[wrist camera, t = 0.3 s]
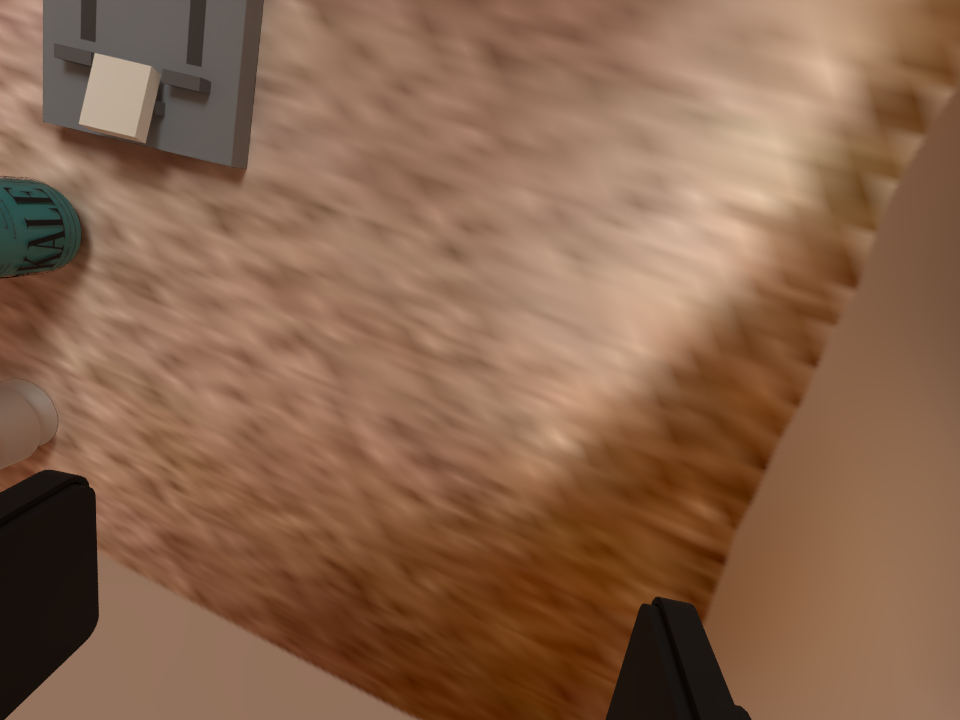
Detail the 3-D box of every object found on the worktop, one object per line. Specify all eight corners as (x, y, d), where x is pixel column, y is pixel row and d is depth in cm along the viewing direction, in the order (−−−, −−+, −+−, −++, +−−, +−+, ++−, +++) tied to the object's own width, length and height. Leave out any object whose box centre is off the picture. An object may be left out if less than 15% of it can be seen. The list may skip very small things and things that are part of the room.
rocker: (106, 61, 34) (94, 52, 33) (161, 74, 34) (151, 66, 33) (90, 130, 34) (78, 123, 33) (145, 143, 34) (134, 137, 33)
